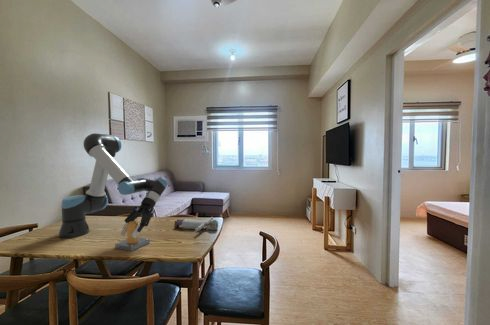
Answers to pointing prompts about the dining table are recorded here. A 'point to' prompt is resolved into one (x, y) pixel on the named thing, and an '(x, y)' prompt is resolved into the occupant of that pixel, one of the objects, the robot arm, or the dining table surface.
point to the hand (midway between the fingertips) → (127, 236)
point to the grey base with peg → (132, 244)
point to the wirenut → (131, 232)
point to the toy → (197, 224)
